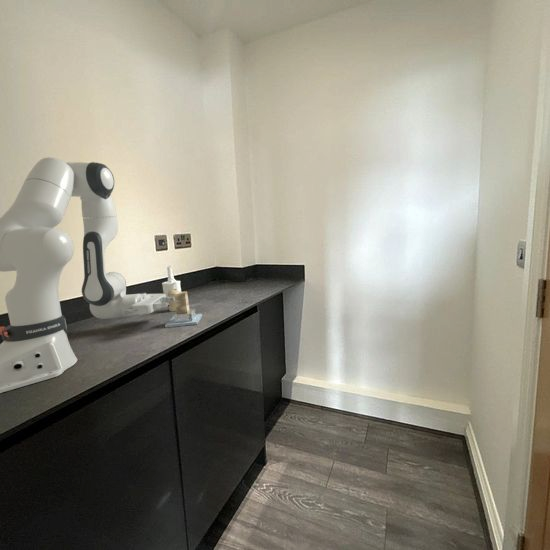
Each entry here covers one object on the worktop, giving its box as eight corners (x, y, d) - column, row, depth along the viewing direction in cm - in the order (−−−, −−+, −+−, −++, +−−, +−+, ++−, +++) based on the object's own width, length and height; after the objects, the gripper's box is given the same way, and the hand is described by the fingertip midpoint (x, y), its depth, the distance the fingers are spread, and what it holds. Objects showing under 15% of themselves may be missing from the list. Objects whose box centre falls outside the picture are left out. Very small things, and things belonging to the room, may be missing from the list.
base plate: (173, 318, 124) (173, 316, 124) (202, 315, 125) (201, 313, 124) (165, 327, 112) (165, 325, 112) (196, 324, 113) (196, 322, 113)
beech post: (178, 321, 116) (174, 294, 114) (180, 318, 120) (177, 292, 118) (188, 320, 116) (184, 293, 115) (190, 317, 120) (187, 291, 119)
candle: (177, 311, 136) (175, 290, 135) (167, 311, 137) (164, 290, 136) (183, 308, 141) (181, 288, 140) (173, 308, 142) (171, 288, 141)
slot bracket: (179, 317, 122) (178, 310, 121) (195, 315, 122) (194, 308, 122) (174, 322, 114) (174, 315, 114) (192, 320, 115) (191, 313, 114)
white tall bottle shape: (161, 304, 153) (156, 267, 151) (177, 300, 160) (173, 264, 157) (170, 307, 146) (165, 267, 143) (187, 302, 152) (182, 265, 150)
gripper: (122, 303, 105) (161, 299, 106) (143, 292, 125) (176, 289, 126) (125, 320, 106) (164, 316, 107) (145, 306, 126) (178, 303, 127)
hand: (170, 301), depth 117 cm, fingers open, 8 cm apart
